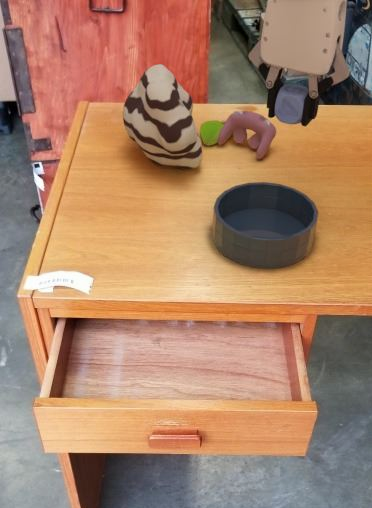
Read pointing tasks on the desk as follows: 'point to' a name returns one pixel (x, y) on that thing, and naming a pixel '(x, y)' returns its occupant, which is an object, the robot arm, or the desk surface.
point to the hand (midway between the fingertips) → (290, 116)
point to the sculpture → (163, 120)
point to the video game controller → (250, 121)
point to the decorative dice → (290, 103)
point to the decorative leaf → (211, 132)
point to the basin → (264, 224)
